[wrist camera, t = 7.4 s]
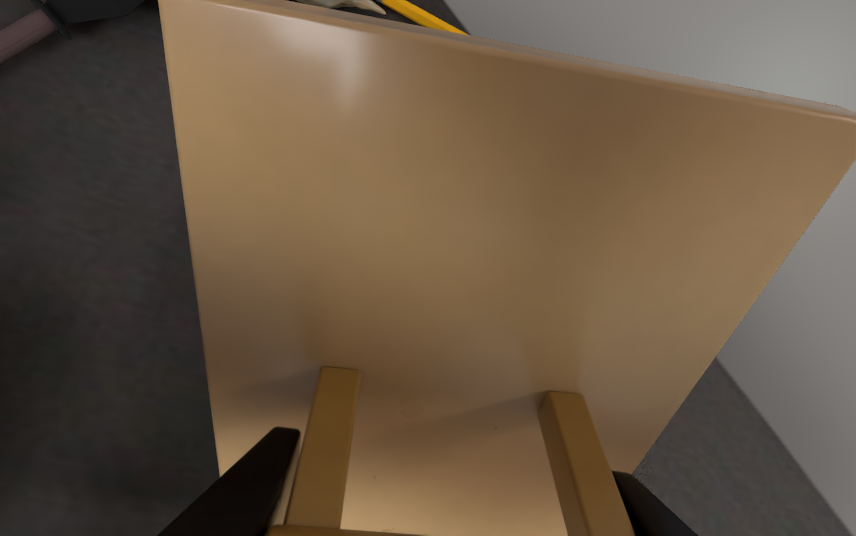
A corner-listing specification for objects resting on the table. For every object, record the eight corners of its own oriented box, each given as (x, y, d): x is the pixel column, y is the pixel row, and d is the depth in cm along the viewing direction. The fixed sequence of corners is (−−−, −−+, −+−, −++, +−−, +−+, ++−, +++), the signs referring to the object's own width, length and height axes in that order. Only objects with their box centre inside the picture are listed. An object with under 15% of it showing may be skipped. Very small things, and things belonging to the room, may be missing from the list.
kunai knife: (305, -65, 27) (298, -124, 24) (-189, 249, 19) (-292, 221, 16) (254, -110, 28) (242, -173, 25) (-252, 182, 20) (-365, 142, 17)
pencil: (364, -4, 28) (370, -5, 29) (488, 64, 27) (491, 62, 28) (368, -19, 27) (373, -19, 28) (494, 51, 27) (497, 49, 27)
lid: (184, -20, 5) (-535, 67, 1) (837, 105, 6) (1600, 383, 2) (239, 525, 12) (147, 817, 8) (552, 547, 13) (612, 820, 9)
